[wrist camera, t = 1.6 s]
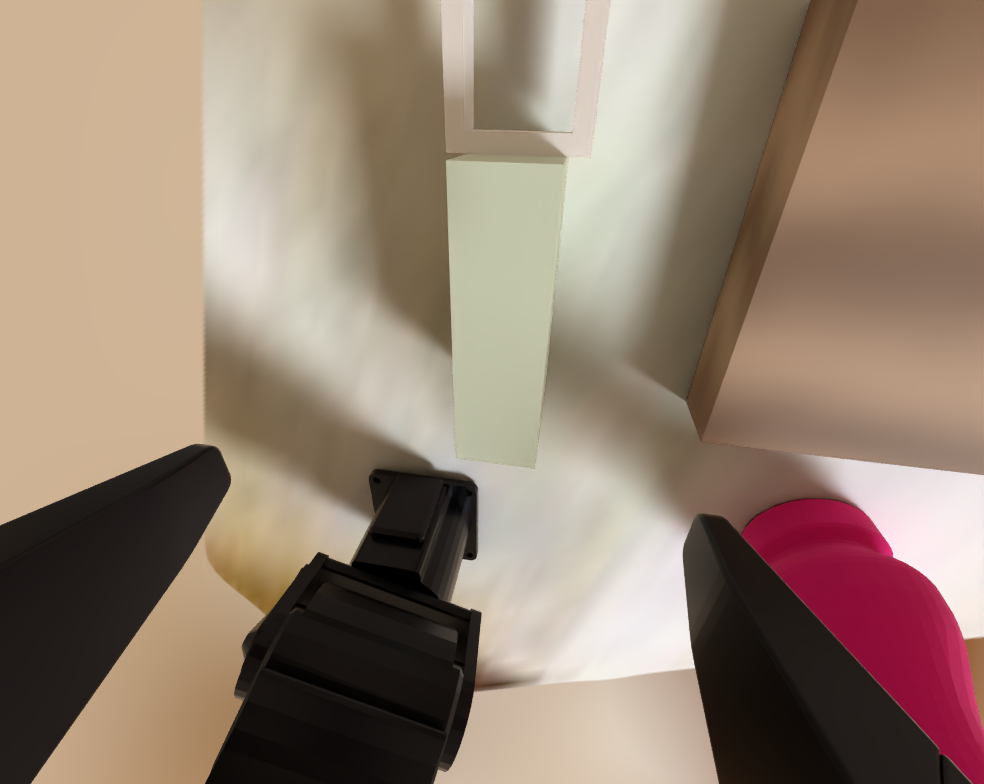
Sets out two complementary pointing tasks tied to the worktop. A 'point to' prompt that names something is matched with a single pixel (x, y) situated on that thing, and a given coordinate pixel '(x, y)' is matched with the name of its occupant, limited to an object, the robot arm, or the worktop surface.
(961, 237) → the brown open rectangular box
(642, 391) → the worktop surface
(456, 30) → the light grey piece
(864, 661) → the pepper mill
